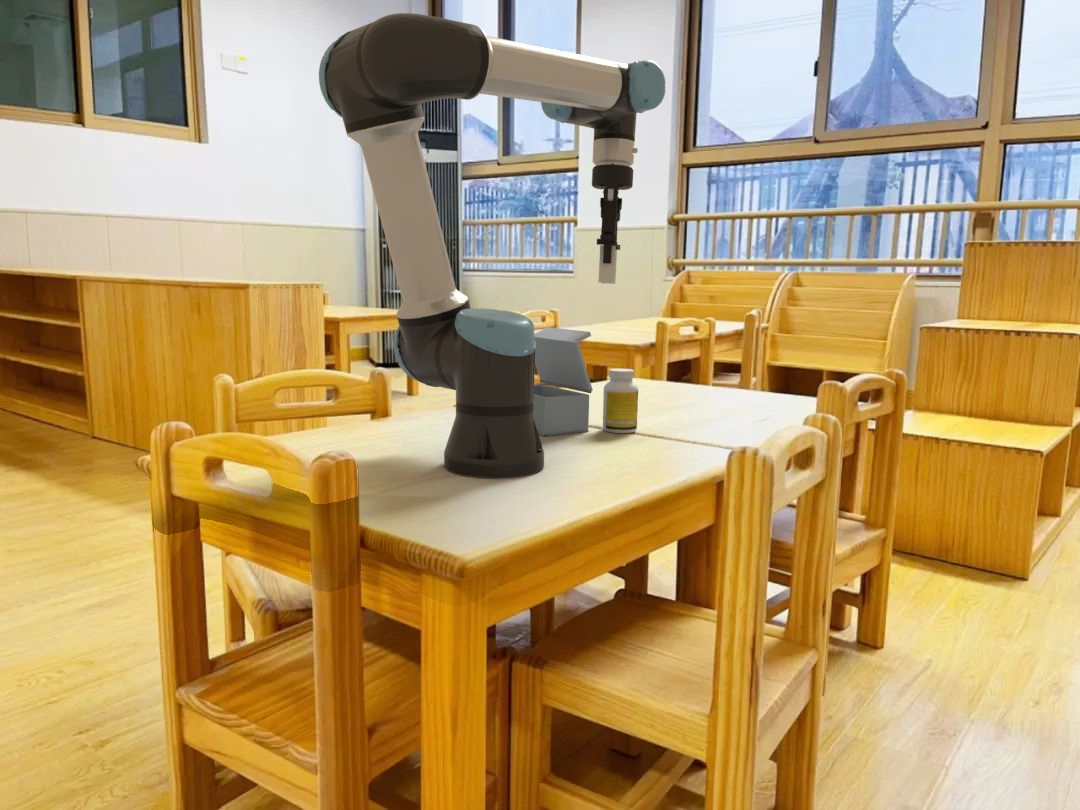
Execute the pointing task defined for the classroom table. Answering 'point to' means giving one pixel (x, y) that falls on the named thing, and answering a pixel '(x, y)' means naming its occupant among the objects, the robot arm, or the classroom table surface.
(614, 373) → the pill bottle
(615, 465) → the classroom table surface
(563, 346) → the lid
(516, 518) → the classroom table surface
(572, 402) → the box
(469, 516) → the classroom table surface
